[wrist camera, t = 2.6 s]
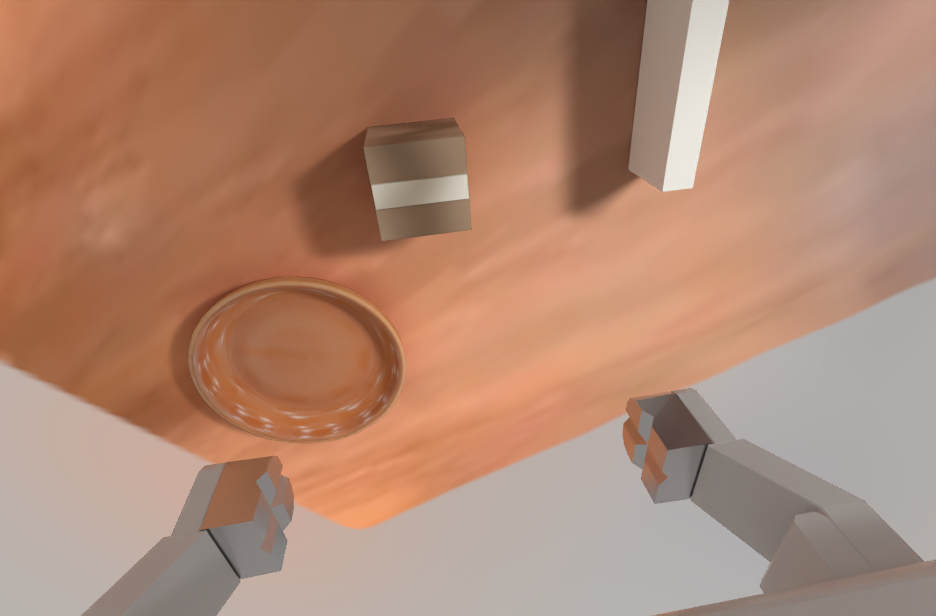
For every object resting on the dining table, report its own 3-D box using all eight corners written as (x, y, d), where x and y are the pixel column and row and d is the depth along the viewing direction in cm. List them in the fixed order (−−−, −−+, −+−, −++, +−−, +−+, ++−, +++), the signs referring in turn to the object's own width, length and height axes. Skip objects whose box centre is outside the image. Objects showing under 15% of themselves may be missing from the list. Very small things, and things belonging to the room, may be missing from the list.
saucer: (396, 256, 34) (396, 275, 32) (411, 410, 43) (412, 434, 40) (171, 271, 33) (152, 292, 30) (233, 428, 41) (223, 454, 39)
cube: (453, 117, 29) (465, 136, 25) (460, 199, 32) (472, 230, 28) (367, 126, 29) (363, 148, 24) (383, 209, 32) (381, 242, 27)
